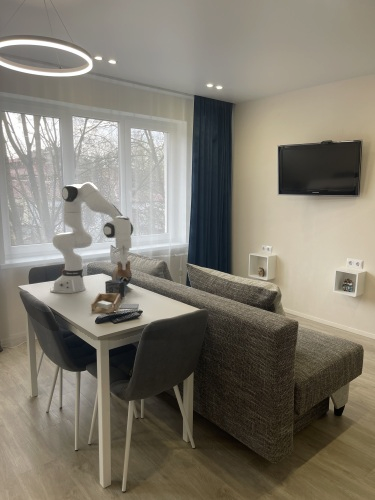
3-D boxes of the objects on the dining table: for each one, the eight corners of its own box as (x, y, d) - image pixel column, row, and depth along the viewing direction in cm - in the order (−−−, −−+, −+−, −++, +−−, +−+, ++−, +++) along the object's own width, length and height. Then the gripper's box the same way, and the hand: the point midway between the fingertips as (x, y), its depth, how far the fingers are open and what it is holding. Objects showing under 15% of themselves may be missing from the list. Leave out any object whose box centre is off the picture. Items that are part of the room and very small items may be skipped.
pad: (119, 308, 210) (119, 308, 210) (121, 304, 218) (121, 303, 218) (137, 308, 210) (137, 308, 210) (138, 304, 218) (138, 303, 218)
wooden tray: (91, 312, 202) (91, 303, 201) (98, 301, 223) (98, 293, 222) (115, 312, 203) (115, 303, 202) (120, 301, 223) (120, 293, 223)
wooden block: (117, 277, 209) (117, 261, 208) (118, 276, 212) (117, 261, 211) (130, 277, 210) (129, 261, 208) (130, 276, 213) (130, 260, 211)
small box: (125, 296, 233) (125, 280, 232) (120, 299, 227) (119, 283, 226) (110, 295, 237) (110, 279, 235) (105, 297, 231) (104, 281, 229)
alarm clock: (118, 293, 240) (118, 267, 238) (108, 291, 246) (108, 265, 244) (134, 289, 252) (134, 264, 249) (124, 287, 258) (124, 262, 255)
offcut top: (97, 306, 206) (97, 302, 206) (102, 304, 210) (102, 300, 209) (107, 309, 202) (107, 304, 202) (112, 307, 205) (112, 303, 205)
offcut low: (96, 312, 205) (95, 307, 204) (98, 309, 209) (98, 305, 208) (111, 312, 204) (111, 308, 203) (113, 310, 208) (113, 306, 207)
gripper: (129, 247, 199) (130, 272, 201) (128, 242, 219) (129, 265, 220) (117, 247, 198) (118, 272, 199) (118, 242, 218) (118, 265, 219)
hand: (124, 268), depth 210 cm, fingers closed on wooden block, 3 cm apart
